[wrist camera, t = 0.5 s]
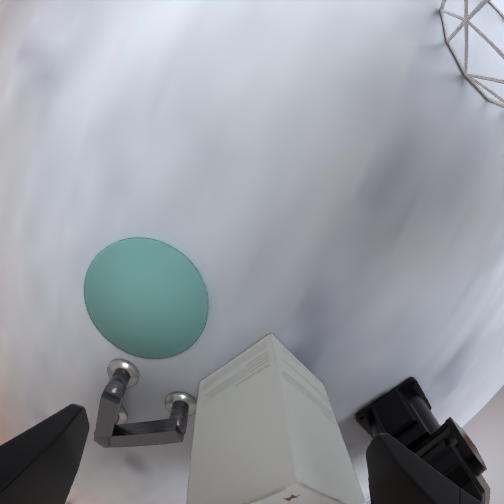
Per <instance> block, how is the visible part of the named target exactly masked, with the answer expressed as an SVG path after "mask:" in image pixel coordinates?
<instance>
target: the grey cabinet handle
mask: <svg viewBox="0 0 504 504" xmlns="http://www.w3.org/2000/svg"><path fill="white" fill-rule="evenodd" d="M107 372H108V375H109V377H110V378H111V379H110V381H109V383H108V385H107V386H106V388H105V390H104V392H103V394H102V396H101V400H100V405H99V411H98V417H97V423H96V430H95V432H94V441H96V442H97V443H98V444H99V445H101V446H103V447H131V446H146V445H158V444H168V443H177V442H183V437H184V434H185V432H186V426H187V419H188V416H190V415H192V414H194V413H195V412H196V405H197V402H196V400H195V399H194V398H193V397H192V396H191V395H189V394H187V393H184V392H173V393H171V394H169V395H168V396H167V398H166V402H165V405H166V408H167V409H168V410H169V411H170V412H171V413H170V418H169V419H164V420H156V421H148V422H139V423H129V424H124V423H125V422H126V419H127V413H126V411H125V410H124V409H123V408H122V407H121V402H122V399H123V395H124V392H125V390H126V388H127V387H131V386H134V385H135V384H136V383H137V381H138V378H139V373H138V370H137V368H136V367H135V366H134V365H133V364H132V363H130V362H129V361H127V360H123V359H115V360H113V361H111V363H110V364H109V366H108V369H107Z"/></svg>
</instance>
